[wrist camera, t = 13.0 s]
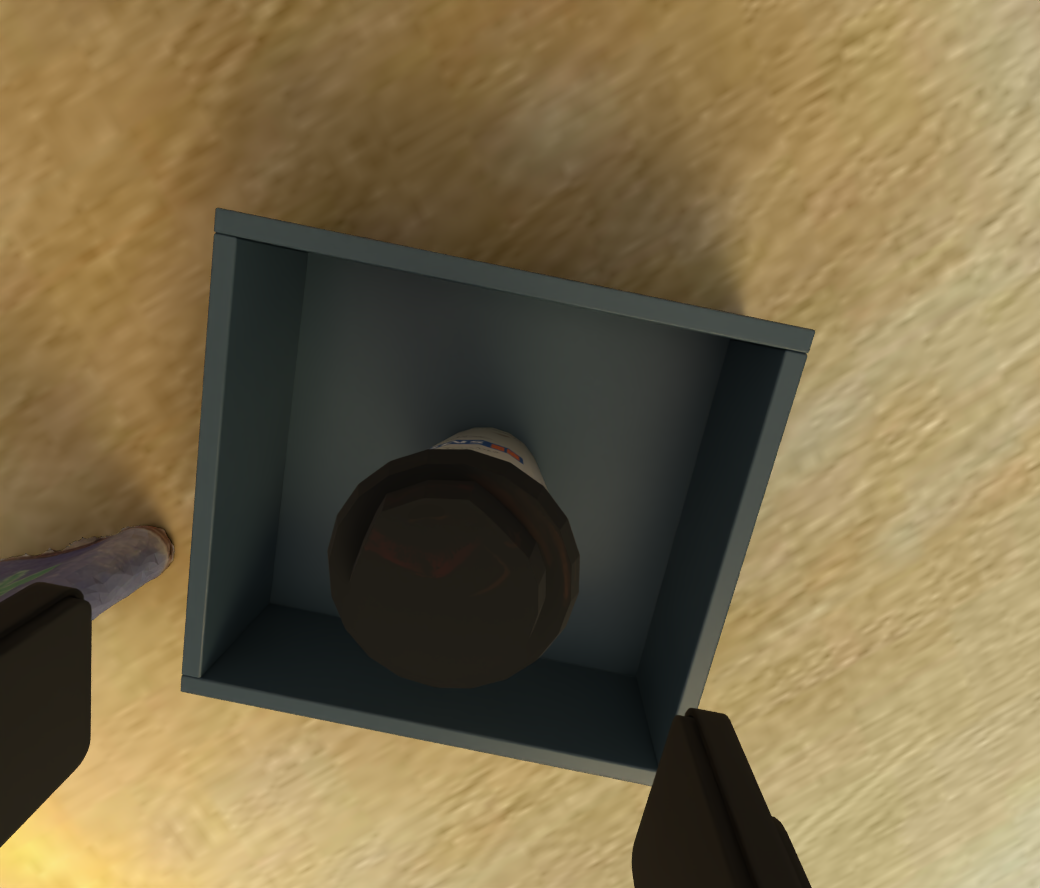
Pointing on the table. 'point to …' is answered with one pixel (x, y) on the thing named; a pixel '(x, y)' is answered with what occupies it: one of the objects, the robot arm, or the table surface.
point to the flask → (94, 566)
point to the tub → (434, 418)
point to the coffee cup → (455, 562)
